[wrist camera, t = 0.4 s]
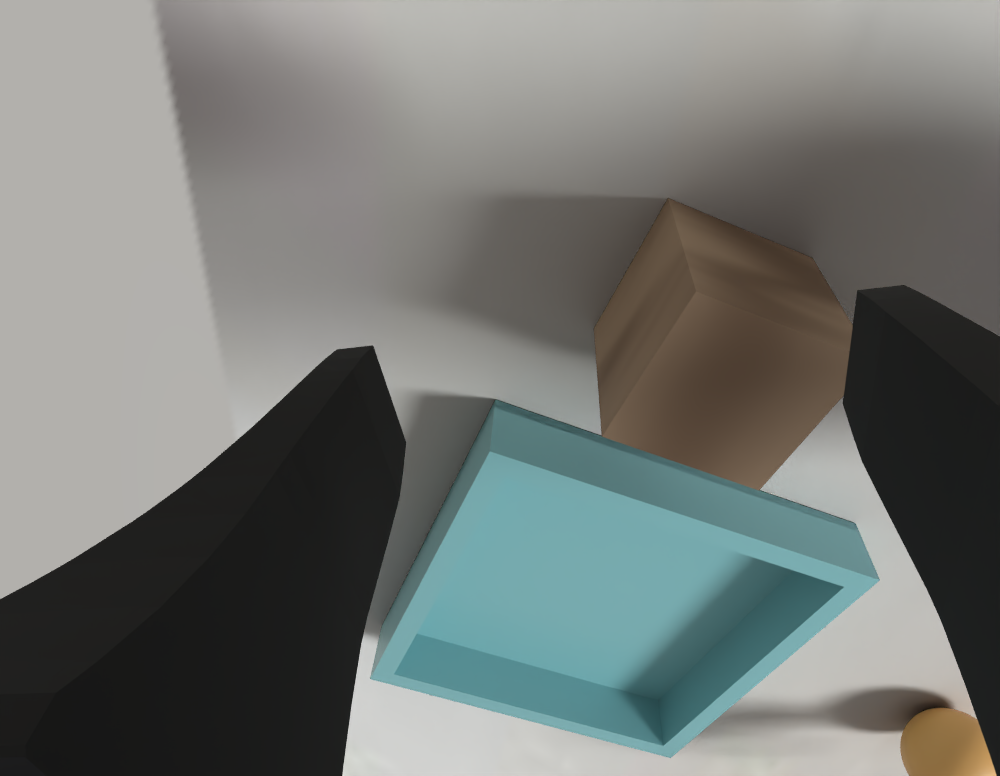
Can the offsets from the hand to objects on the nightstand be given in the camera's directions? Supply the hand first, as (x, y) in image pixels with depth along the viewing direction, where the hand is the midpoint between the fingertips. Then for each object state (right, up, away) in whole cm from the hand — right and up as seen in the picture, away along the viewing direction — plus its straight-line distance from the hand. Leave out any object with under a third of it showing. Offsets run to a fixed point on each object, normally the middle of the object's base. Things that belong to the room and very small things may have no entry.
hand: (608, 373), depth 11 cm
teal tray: (+2, -8, +18) cm, 20 cm away
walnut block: (+4, +3, +10) cm, 11 cm away
